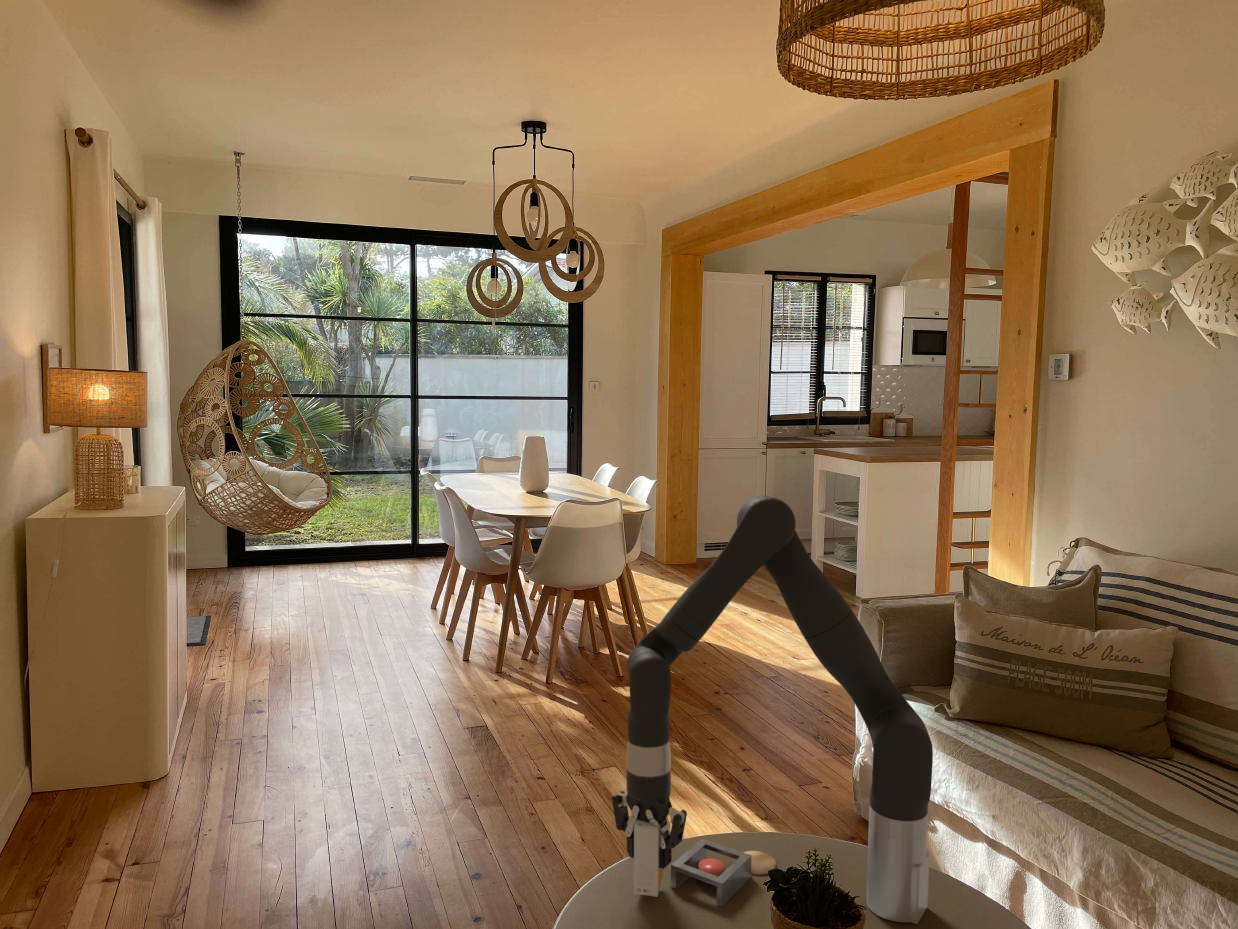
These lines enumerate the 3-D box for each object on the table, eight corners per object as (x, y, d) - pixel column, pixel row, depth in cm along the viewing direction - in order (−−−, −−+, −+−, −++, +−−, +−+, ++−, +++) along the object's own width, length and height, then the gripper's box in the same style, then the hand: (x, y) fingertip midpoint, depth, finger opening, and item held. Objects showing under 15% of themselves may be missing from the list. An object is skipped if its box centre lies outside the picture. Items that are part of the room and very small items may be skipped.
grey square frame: (751, 876, 155) (751, 855, 155) (721, 906, 146) (722, 883, 146) (701, 859, 161) (702, 838, 161) (670, 887, 152) (671, 864, 152)
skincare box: (658, 897, 146) (658, 828, 145) (633, 895, 147) (633, 826, 146) (663, 878, 152) (663, 811, 151) (639, 875, 153) (639, 809, 152)
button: (733, 871, 154) (733, 863, 154) (718, 885, 150) (718, 878, 150) (705, 861, 157) (705, 853, 157) (689, 875, 153) (689, 867, 153)
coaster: (781, 861, 160) (781, 858, 160) (765, 879, 155) (765, 876, 155) (747, 850, 164) (747, 847, 164) (730, 866, 159) (730, 863, 159)
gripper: (696, 767, 147) (696, 864, 148) (625, 748, 155) (626, 839, 156) (673, 784, 141) (673, 884, 142) (601, 763, 149) (601, 858, 150)
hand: (648, 860), depth 149 cm, fingers closed on skincare box, 5 cm apart
